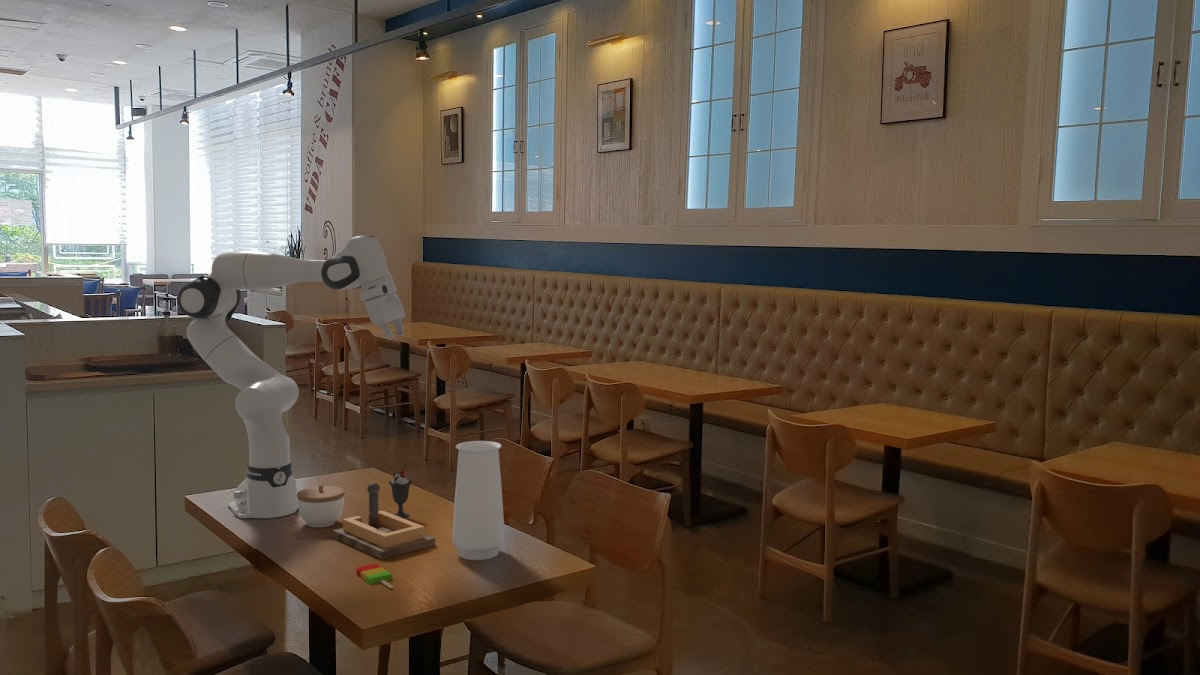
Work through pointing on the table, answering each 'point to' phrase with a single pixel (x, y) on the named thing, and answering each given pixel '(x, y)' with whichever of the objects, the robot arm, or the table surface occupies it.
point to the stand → (374, 522)
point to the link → (403, 532)
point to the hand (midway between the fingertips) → (396, 337)
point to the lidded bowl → (321, 505)
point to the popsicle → (374, 574)
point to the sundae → (400, 491)
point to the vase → (478, 501)
